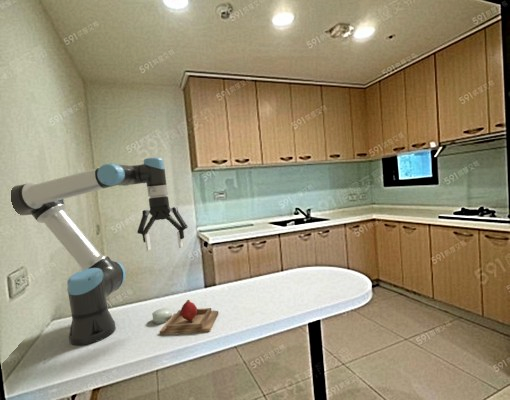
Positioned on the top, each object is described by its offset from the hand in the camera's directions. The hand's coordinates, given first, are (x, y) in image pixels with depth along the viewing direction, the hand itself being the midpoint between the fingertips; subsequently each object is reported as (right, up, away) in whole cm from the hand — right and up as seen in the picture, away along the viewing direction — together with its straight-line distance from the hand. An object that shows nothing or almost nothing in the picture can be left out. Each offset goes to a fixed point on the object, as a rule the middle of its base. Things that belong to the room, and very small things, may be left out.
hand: (164, 248), depth 123 cm
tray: (+13, -26, -10) cm, 31 cm away
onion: (+13, -25, -11) cm, 30 cm away
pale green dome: (0, -27, -4) cm, 27 cm away
